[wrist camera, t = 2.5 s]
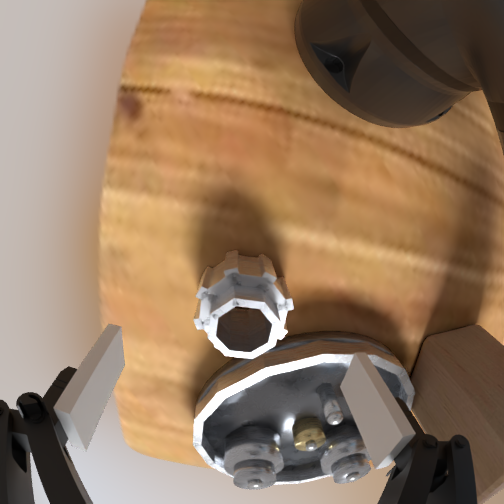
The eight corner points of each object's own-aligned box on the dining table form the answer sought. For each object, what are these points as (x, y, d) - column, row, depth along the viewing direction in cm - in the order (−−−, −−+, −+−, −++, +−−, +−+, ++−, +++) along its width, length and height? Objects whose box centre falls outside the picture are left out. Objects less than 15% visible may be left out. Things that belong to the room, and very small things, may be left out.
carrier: (202, 317, 24) (189, 380, 16) (433, 333, 26) (472, 375, 18) (192, 460, 31) (188, 506, 23) (355, 459, 33) (368, 498, 25)
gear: (205, 245, 22) (194, 273, 16) (291, 257, 22) (308, 289, 17) (197, 320, 24) (187, 363, 18) (275, 330, 24) (284, 374, 19)
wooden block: (422, 333, 26) (527, 461, 7) (478, 320, 26) (573, 410, 7) (399, 396, 29) (464, 515, 10) (454, 379, 29) (522, 471, 10)
